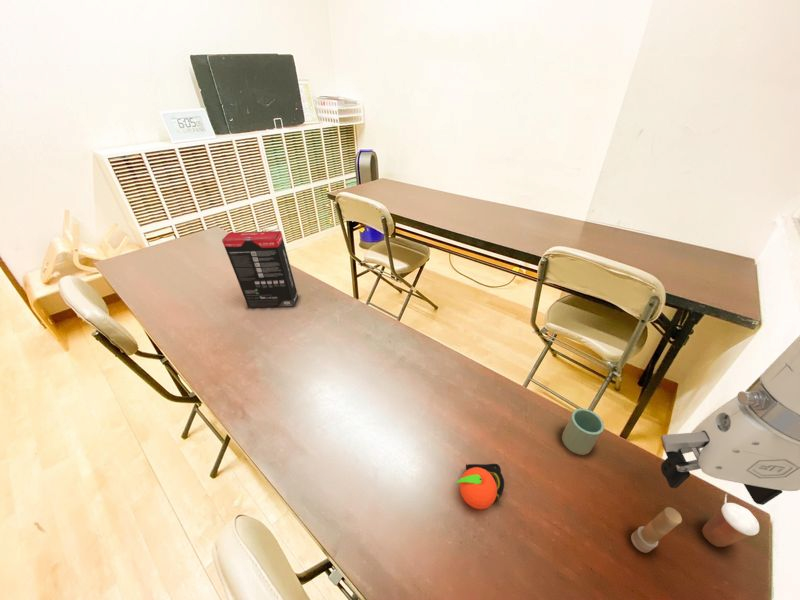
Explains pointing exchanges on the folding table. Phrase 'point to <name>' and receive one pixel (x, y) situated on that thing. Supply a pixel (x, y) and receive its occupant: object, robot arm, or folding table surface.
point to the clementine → (478, 488)
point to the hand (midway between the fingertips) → (708, 484)
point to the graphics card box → (262, 268)
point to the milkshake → (730, 525)
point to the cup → (582, 431)
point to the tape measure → (495, 472)
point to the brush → (655, 530)
